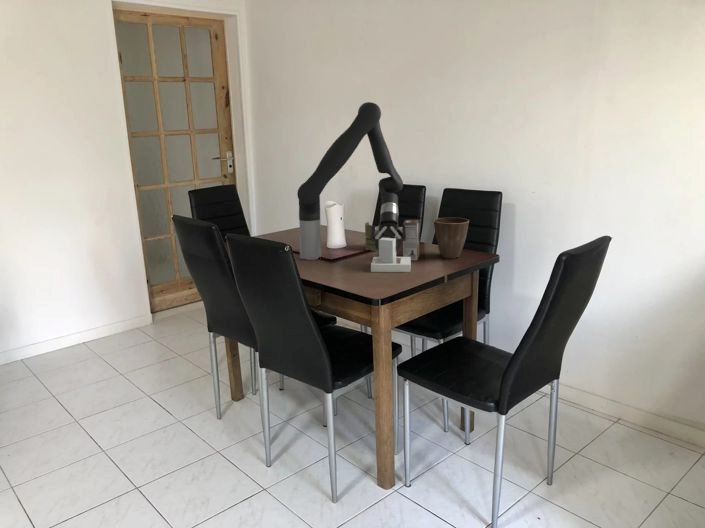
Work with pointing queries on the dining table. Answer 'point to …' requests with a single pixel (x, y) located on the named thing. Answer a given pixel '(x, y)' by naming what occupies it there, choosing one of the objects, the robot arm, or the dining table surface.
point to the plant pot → (451, 235)
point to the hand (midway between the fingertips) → (387, 248)
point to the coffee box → (411, 239)
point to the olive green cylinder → (369, 242)
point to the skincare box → (387, 251)
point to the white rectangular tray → (392, 265)
